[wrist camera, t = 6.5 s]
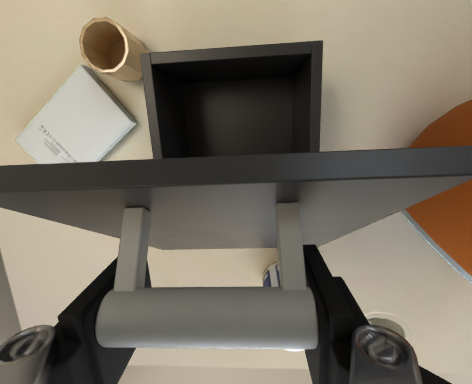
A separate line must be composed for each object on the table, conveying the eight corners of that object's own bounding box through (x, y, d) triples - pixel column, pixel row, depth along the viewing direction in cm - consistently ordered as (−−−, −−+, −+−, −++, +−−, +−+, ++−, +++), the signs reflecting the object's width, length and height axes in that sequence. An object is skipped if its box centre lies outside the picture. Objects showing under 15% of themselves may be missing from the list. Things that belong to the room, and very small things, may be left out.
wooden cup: (105, 38, 28) (75, 19, 23) (146, 35, 28) (123, 15, 23) (112, 82, 29) (85, 74, 24) (151, 80, 29) (131, 70, 24)
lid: (-43, 166, 7) (-117, 371, 6) (473, 144, 6) (554, 383, 5) (162, 240, 23) (158, 299, 21) (317, 237, 22) (324, 299, 20)
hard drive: (139, 123, 30) (73, 187, 33) (88, 66, 29) (23, 138, 31) (132, 123, 28) (64, 190, 31) (78, 62, 27) (11, 138, 30)
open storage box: (176, 77, 28) (139, 53, 19) (298, 69, 28) (323, 40, 18) (189, 208, 32) (164, 242, 23) (296, 205, 31) (316, 239, 22)
